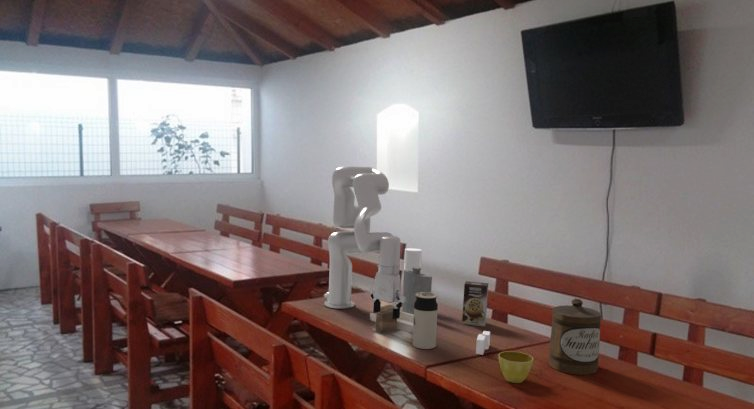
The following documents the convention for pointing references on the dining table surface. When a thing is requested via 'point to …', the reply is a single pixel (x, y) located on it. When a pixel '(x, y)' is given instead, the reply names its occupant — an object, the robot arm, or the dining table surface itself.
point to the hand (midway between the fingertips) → (386, 315)
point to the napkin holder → (482, 342)
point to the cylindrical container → (412, 258)
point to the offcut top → (386, 307)
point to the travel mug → (425, 320)
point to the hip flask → (414, 287)
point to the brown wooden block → (385, 321)
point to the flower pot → (515, 365)
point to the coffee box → (475, 303)
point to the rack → (401, 321)
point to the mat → (386, 332)
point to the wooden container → (575, 339)
